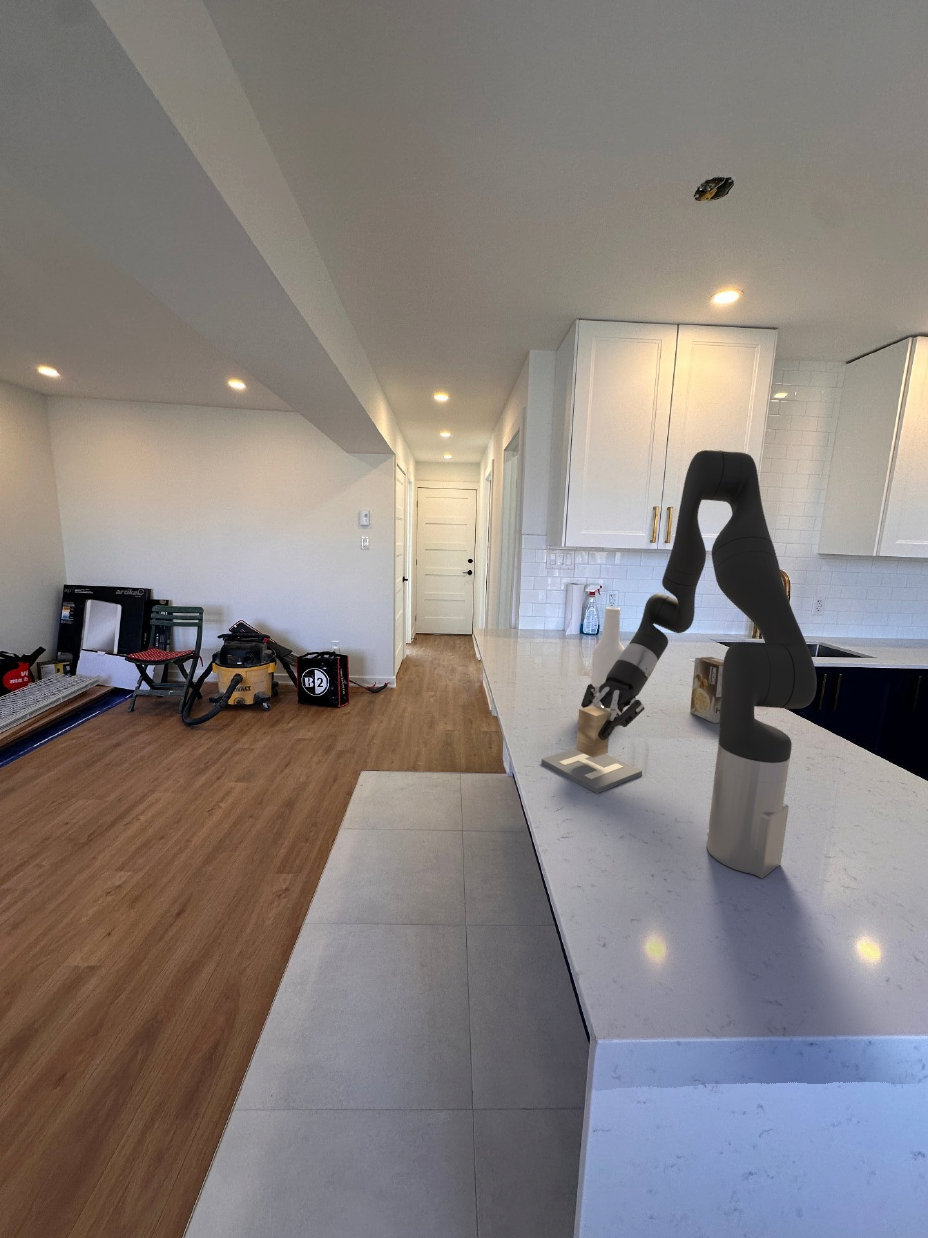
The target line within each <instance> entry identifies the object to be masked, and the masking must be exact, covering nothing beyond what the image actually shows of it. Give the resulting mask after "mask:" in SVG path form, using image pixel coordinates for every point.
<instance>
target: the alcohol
mask: <svg viewBox="0 0 928 1238" xmlns="http://www.w3.org/2000/svg"><path fill="white" fill-rule="evenodd" d="M604 610H605V611H604V620H603V627H602V634H601V638H600V641H598V643H597V644H596V645H595V646H594V648H593V650H592V651H593V652H592V656H591V657H592V658H591V669H590V670H591V672H590V673H591V675H590V684H592V685H593V686H594V687H600V685H602V684H603V683H604V682H605V681H606V677H607V674H608V673H609V671H610V670H611V668H612V667H613V665H614V664H615V662H616V661H617V659H618V658H619V656H620V655H621V653H622V652H623V651H624V649H625V648H626V647H624V645H623V643H622V642H621V640H620V639H621V638H620V637H621V635H620V632H621V631H620V629H621V627H620V626H621V625H620V624H621V623H620V622H621V621H620V620H621V618H620V617H621V608H620V607H616V606H606V607H605V608H604ZM598 695H599V693H598ZM598 695H597V696H598ZM595 698H596V697H595ZM600 705H602V703H601V702H600ZM605 710H608V711H610V708H606V709H605Z"/></svg>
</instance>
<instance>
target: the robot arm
mask: <svg viewBox="0 0 928 1238" xmlns="http://www.w3.org/2000/svg"><path fill="white" fill-rule="evenodd" d="M681 493H682V495H681V500H680V506H679V510H678V516H677V522H676V528H675V535H674V540H673V544H672V548H671V550H670V551H671V552H670V555H669V558H668V561H667V565H666V567H665V571H664V573H663V576H662V580H661V585H662V587H663V588H664V590H666V591H667V592H668V593H669V594H671V595H672V596H674V597H672V596H669V595H667V594H664V593H661V592H660V593H659V592H658V593H655V594H652V595H651V596H650V597H649V598H648V599H647V600H646V603H645V606H644V608H643V614H642V617H641V621H640V624H639V626H638V628H637V631H636V632H635V634H634V636H633V637H632V638H631V640H630V641H629V643H628V645H627V646H626V647H624V648H625V649H624V651H623V652H622V653H621V655H620V656H619V658H618V659H617V661H616V662H615V664H614V665H613V667H612V668H611V670H610V671H609V673H608V674H607V677H606V681H605V682H604V683H603V684H602V685H600V687H594V686H593V685H592V684H591V683H589V684H588V685H587V686H586V690H585V693H584V695H583V698H582V702H581V704H580V706H581V707H582V708H585V707H589V706H593V705H594V706H597V707H600V708H602V709H606V708H610V712H611V713H610V715H609V720H606V722H605V723H604V725H603V727H602V728H601V730H600V731H599V733H598V736H599V738H600V739H601V740H605V739H607V738H609V739H610V736H611V735H612V733H613V731H614V730H615V729H616V728H617V727H618V726H619V727H620V726H621V727H623V728H627V726H629V725H631V723H632V722H633V721H634V720H635V719H636V718H637V717H638V716H639V715H640V714H641V713H643V712H644V710H645V706H644V705H643V703H642V702H641V700H640V699H637V698H636V697H637V696H639V694H640V693H641V691H642V690H643V688H644V686H645V685H646V683H647V682H648V681H649V679H650V677H651V675H652V674H653V672H654V670H655V668H656V666H657V663H658V662H659V660H660V659H661V658H662V655H663V654H664V652H665V651H666V648H667V647H668V645H669V638H668V636H667V635H666V634H665V633H664V632H663V631H662V630H660V629H659V628H657V626H659V627H660V628H664V629H666V630H668V631H671V632H673V633H675V634H682V633H685V632H687V630H688V629H690V628H691V627H692V625H693V622H694V618H695V612H696V611H695V609H696V607H695V604H696V603H695V602H696V601H695V599H696V591H697V587H698V583H699V581H700V578H701V576H702V574H703V570H704V568H705V564H706V562H707V561H706V560H707V551H706V545H705V542H704V539H703V535H702V531H701V529H700V524H699V508H700V505H701V502H702V501H713V502H723V503H724V502H725V503H727V504H728V505H729V506H730V509H731V517H730V518H729V520H728V521H727V523H726V524H725V525H724V526H723V528H722V529H721V531H720V532H719V533H718V535H717V536H716V538H715V540H714V541H713V544H712V548H711V561H712V565H713V570H714V575H715V579H716V583H717V585H718V587H719V589H720V590H721V592H722V593H723V594H724V595H725V597H726V598H727V599H728V600H730V602H731V603H732V604H733V605H735V606H736V607H737V608H738V609H739V611H740V612H742V613H743V614H744V615H745V616H746V617H747V618H749V620H750V621H751V622H752V623H753V624H754V626H755V627H756V628H757V629H758V631H759V633H760V634H761V637H762V639H763V641H764V642H754V641H753V642H752V641H751V642H748V641H739V642H734V643H732V644H731V645H730V646H729V647H728V649H727V650H726V652H725V655H724V659H723V660H724V662H723V669H722V686H721V704H720V715H719V724H718V727H719V732H718V733H719V735H718V743H717V753H716V761H715V769H714V777H713V778H714V779H713V786H712V795H711V803H710V811H709V820H708V830H707V835H706V836H707V839H706V849H707V851H708V853H709V854H710V855H711V856H712V857H713V859H715V860H717V861H718V862H719V863H721V864H723V865H724V866H726V867H729V868H730V869H733V870H735V871H736V870H737V871H739V872H743V873H746V874H751V875H754V876H757V877H758V878H760V879H763V878H764V877H766V876H767V875H768V874H770V873H771V872H772V871H774V870H775V869H776V868H777V867H778V866H780V865H781V864H782V857H783V851H784V843H785V837H786V829H787V823H788V822H787V821H788V815H789V808H790V807H789V805H788V804H787V803H785V802H784V801H785V797H786V789H787V788H786V787H787V781H788V773H789V766H790V760H791V759H790V758H791V753H792V747H793V746H792V744H793V743H792V739H791V738H790V737H789V735H787V734H786V733H785V732H784V731H782V730H781V729H779V728H777V727H775V726H773V725H771V724H767V723H765V722H763V721H760V720H758V719H757V718H755V717H756V716H755V707H759V708H761V707H762V708H771V709H772V708H773V709H790V710H791V709H793V710H794V709H803V708H805V707H808V706H810V704H811V703H812V702H813V701H814V699H815V697H816V693H817V684H818V682H817V681H818V679H817V673H816V668H815V663H814V661H813V657H812V654H811V652H810V649H809V647H808V645H807V641H806V639H805V637H804V635H803V633H802V631H801V628H800V625H799V623H798V621H797V619H796V616H795V613H794V611H793V609H792V606H791V604H790V600H789V597H788V594H787V591H786V587H785V584H784V583H785V582H784V580H783V576H782V572H781V568H780V564H779V560H778V557H777V553H776V549H775V546H774V542H773V541H772V538H771V535H770V531H769V529H768V525H767V521H766V520H767V519H766V516H765V513H764V509H763V508H764V507H763V503H762V495H761V490H760V482H759V475H758V470H757V465H756V462H755V460H754V458H753V457H752V456H751V455H750V454H748V453H746V452H742V451H735V450H724V449H709V448H705V449H701V450H698V451H697V452H696V453H695V454H694V455H693V456H692V459H691V461H690V463H689V466H688V468H687V471H686V475H685V480H684V482H683V489H682V492H681ZM655 625H657V626H655ZM598 693H599V695H598ZM597 695H598V696H597ZM595 697H596V698H595ZM600 702H601V703H602V705H600ZM626 707H627V708H626ZM625 708H626V709H625Z"/></svg>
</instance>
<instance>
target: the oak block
mask: <svg viewBox="0 0 928 1238" xmlns="http://www.w3.org/2000/svg"><path fill="white" fill-rule="evenodd" d="M610 713H611V712H610V711H608V710H605V709H602V708H600V707H597V706H594V705H593V706H589V707H585V708H583V707H582V708H579V709H578V717H577V718H578V721H577V722H578V723H577V736H576V747H575V748H576V750H577V751H579V752H582V753H584V754H586V755H588V756H590V757H592V758H595V757H598V756H601V755H603V754H608V753H609V739H610V737H609V738H607V739H605V740H601V739H600V738H599V736H598V733H599V731H600V730H601V728H602V727H603V725H604V723H605V722H606V720H609V715H610Z"/></svg>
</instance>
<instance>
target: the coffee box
mask: <svg viewBox="0 0 928 1238" xmlns="http://www.w3.org/2000/svg"><path fill="white" fill-rule="evenodd" d="M723 662H724V659H720V658H716V657H713V656H705V657H703V656H701V657H695V659H694V667H693V677H692V687H691V698H690V699H691V700H690V710H689V713H691V714H692V715H695V716H697V717H699V718H702V719H704V720H706V721H709V722H710V723H713V724H718V723H719V715H720V704H721V686H722V669H723Z"/></svg>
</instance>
